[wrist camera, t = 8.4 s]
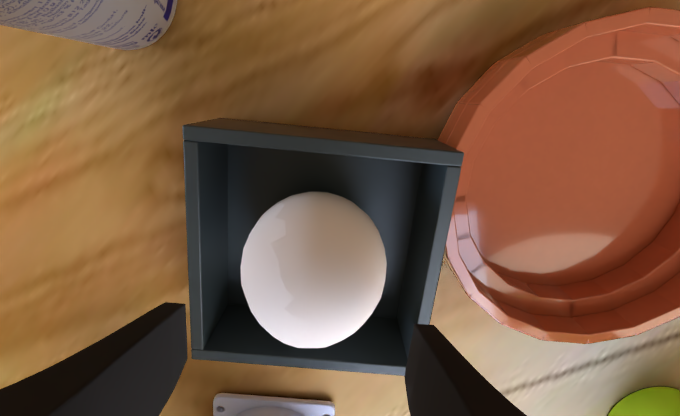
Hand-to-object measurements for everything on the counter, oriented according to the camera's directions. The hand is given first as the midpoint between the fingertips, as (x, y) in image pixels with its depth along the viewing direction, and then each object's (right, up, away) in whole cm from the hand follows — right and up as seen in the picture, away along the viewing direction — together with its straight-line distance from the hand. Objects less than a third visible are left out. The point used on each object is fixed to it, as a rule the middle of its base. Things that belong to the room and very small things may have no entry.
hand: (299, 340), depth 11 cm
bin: (0, +3, +9) cm, 9 cm away
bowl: (+13, +6, +8) cm, 17 cm away
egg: (0, +3, +8) cm, 9 cm away
